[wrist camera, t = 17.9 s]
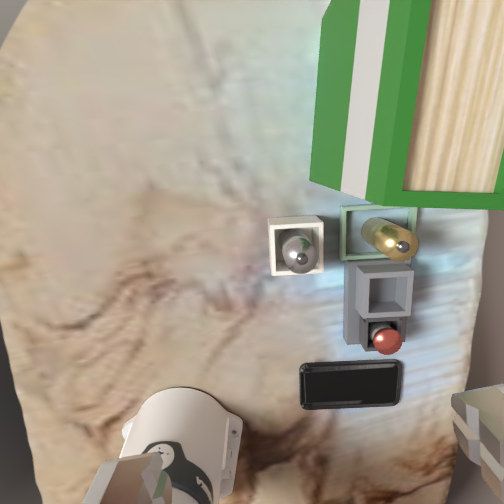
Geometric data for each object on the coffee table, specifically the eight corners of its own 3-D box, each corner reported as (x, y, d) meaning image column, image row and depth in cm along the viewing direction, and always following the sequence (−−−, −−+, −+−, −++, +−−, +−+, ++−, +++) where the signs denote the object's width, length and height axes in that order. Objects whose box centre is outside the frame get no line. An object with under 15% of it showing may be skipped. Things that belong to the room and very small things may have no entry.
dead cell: (306, 252, 43) (319, 274, 35) (279, 254, 43) (285, 276, 35) (306, 226, 42) (319, 242, 34) (278, 228, 42) (284, 244, 34)
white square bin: (315, 260, 44) (323, 272, 39) (269, 263, 44) (272, 275, 39) (315, 215, 42) (323, 222, 38) (267, 218, 42) (269, 225, 38)
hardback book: (321, 19, 36) (443, -226, 13) (387, 22, 36) (622, -218, 13) (309, 180, 41) (382, 206, 18) (367, 182, 41) (515, 210, 18)
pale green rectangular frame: (409, 253, 44) (413, 256, 43) (339, 257, 44) (341, 260, 43) (413, 201, 42) (417, 202, 41) (339, 205, 42) (342, 207, 41)
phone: (300, 366, 48) (402, 361, 47) (298, 361, 49) (399, 357, 49) (300, 410, 50) (398, 406, 50) (299, 405, 51) (395, 401, 51)
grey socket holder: (398, 334, 47) (415, 353, 42) (343, 337, 47) (353, 357, 42) (404, 254, 44) (422, 266, 39) (344, 258, 44) (355, 270, 39)
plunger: (390, 340, 44) (401, 354, 41) (365, 341, 44) (374, 355, 41) (392, 317, 43) (403, 329, 40) (366, 318, 43) (375, 331, 40)
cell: (390, 239, 43) (423, 258, 35) (364, 247, 44) (390, 267, 35) (385, 213, 42) (418, 226, 34) (358, 221, 43) (384, 236, 34)
